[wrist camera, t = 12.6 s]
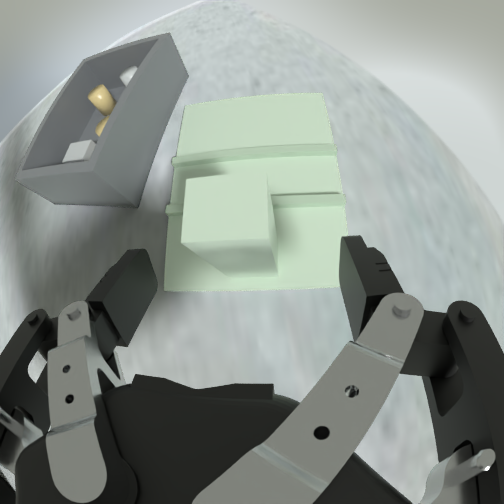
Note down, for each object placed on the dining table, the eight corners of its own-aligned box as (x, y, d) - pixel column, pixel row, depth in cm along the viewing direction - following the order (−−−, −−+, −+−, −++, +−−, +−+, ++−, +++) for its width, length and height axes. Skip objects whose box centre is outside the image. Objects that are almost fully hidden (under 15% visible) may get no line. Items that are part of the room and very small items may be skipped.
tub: (55, 204, 21) (14, 179, 16) (107, 91, 25) (83, 59, 19) (138, 207, 20) (92, 171, 14) (188, 75, 23) (169, 32, 17)
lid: (168, 291, 18) (83, 266, 10) (187, 111, 22) (151, 38, 14) (349, 287, 17) (402, 255, 8) (321, 99, 20) (326, 15, 12)
